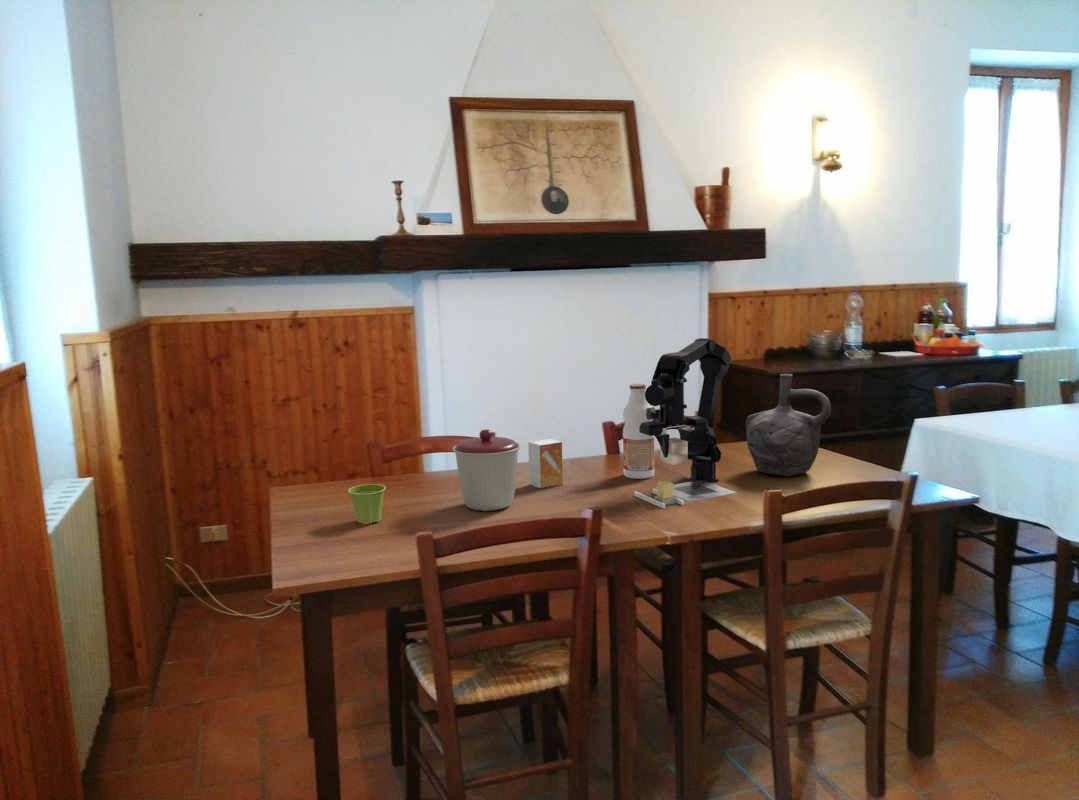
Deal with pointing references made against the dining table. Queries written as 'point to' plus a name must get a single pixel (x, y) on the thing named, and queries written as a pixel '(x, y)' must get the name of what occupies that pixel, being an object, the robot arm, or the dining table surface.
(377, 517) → the plant pot
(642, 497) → the rail
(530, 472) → the small box
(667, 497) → the lever
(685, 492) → the plate
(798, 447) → the vessel
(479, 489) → the canister
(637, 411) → the fruit juice
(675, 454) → the block
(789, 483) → the dining table surface
